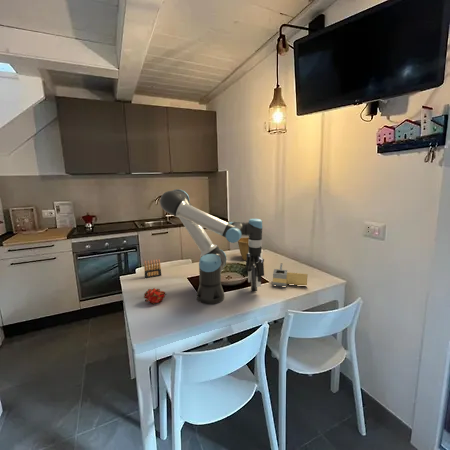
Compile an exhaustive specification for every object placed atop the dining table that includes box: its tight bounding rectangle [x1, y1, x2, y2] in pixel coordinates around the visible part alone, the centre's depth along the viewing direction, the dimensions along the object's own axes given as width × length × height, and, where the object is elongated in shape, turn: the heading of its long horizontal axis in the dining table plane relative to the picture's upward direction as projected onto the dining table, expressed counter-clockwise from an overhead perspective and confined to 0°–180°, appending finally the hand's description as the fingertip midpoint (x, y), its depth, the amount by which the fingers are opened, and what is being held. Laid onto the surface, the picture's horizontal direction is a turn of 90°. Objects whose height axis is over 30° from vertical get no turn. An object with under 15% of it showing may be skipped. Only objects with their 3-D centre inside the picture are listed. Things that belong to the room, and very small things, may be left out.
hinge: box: [272, 263, 308, 287], centre depth 169 cm, size 20×20×8 cm
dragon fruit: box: [143, 287, 167, 305], centre depth 142 cm, size 8×8×12 cm
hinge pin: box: [250, 265, 258, 292], centre depth 155 cm, size 4×4×15 cm
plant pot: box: [237, 237, 249, 261], centre depth 210 cm, size 15×15×16 cm
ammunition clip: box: [143, 258, 162, 279], centre depth 176 cm, size 11×2×12 cm, turn 115°
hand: (254, 283), depth 155 cm, fingers open, 7 cm apart
